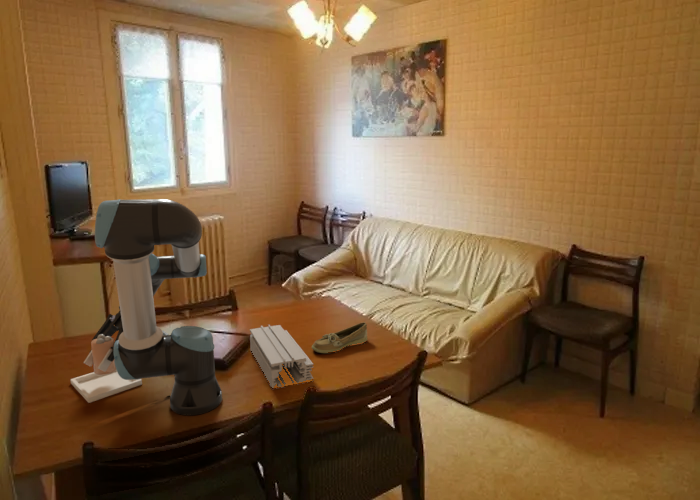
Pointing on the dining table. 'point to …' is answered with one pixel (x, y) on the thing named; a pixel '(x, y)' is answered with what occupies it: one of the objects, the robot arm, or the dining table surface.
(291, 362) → the aluminum extrusion profile
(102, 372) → the pebble cup
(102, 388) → the tray
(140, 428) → the dining table surface
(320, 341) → the boat shoe
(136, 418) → the dining table surface
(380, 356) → the dining table surface
